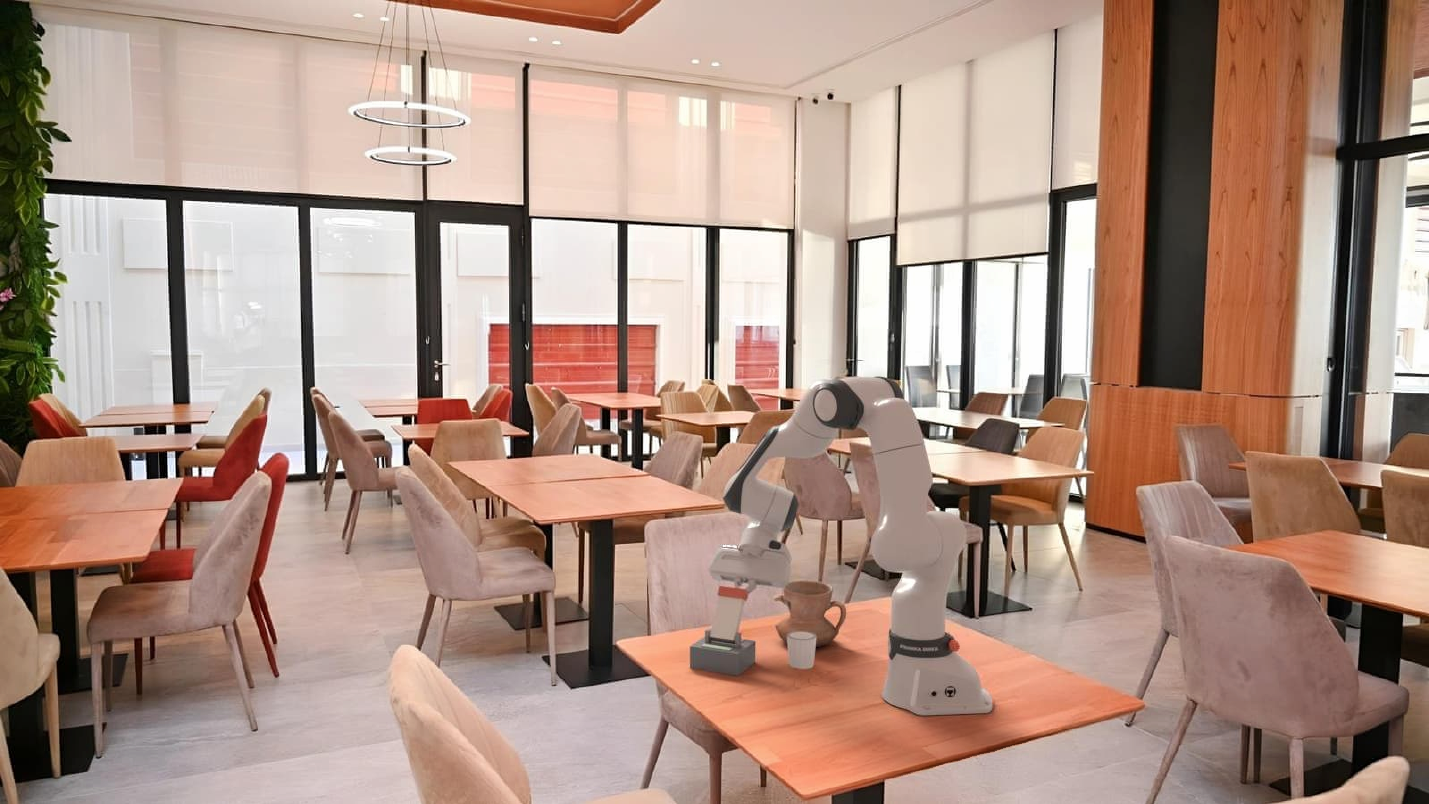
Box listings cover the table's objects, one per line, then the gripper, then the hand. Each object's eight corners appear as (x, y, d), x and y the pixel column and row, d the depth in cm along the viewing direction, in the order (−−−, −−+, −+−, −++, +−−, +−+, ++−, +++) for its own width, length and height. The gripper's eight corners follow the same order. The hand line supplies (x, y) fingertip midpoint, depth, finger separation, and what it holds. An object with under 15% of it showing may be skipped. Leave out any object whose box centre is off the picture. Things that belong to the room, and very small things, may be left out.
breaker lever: (711, 641, 223) (723, 589, 228) (737, 645, 220) (748, 592, 225) (707, 639, 221) (719, 585, 226) (733, 643, 218) (744, 589, 223)
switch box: (708, 654, 228) (708, 622, 228) (755, 662, 223) (755, 629, 223) (689, 667, 219) (690, 634, 219) (738, 675, 214) (738, 641, 214)
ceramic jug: (766, 648, 233) (767, 591, 232) (779, 629, 247) (780, 575, 246) (840, 657, 228) (842, 598, 227) (849, 637, 242) (851, 582, 241)
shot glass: (816, 660, 225) (816, 631, 224) (816, 670, 218) (816, 640, 217) (786, 659, 225) (787, 630, 225) (786, 669, 219) (786, 639, 218)
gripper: (714, 537, 239) (697, 585, 231) (791, 545, 231) (776, 595, 223) (722, 551, 244) (705, 598, 236) (797, 559, 235) (783, 609, 227)
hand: (740, 597), depth 229 cm, fingers closed
